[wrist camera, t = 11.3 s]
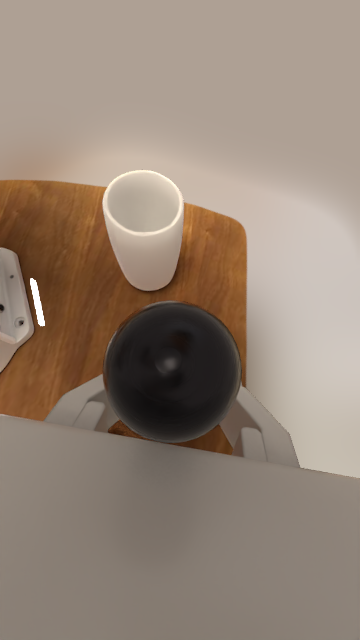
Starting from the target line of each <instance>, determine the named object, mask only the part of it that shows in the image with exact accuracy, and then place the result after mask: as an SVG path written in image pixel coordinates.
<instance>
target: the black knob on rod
mask: <svg viewBox="0 0 360 640" xmlns="http://www.w3.org/2000/svg"><path fill="white" fill-rule="evenodd" d="M241 374H242V367H241V359H240V354H239V350H238V347H237V344H236V342H235V340H234V338H233V336H232V334H231V333H230V331H229V330H228V328H227V327H226V326H225V325H224V323H223V322H222V321H221V320H220V319H218V318H217V317H216V316H215V315H214V314H212V313H211V312H209V311H208V310H206V309H204V308H202V307H200V306H198V305H195V304H192V303H188V302H184V301H161V302H157V303H153V304H150V305H147V306H145V307H142V308H141V309H139V310H137V311H135V312H134V313H133V314H131V315H130V316H129V317H127V318H126V319H125V320H124V321H123V322H122V323H121V324H120V326H119V327H118V328H117V329H116V331H115V332H114V334H113V335H112V337H111V339H110V341H109V343H108V346H107V349H106V351H105V356H104V360H103V383H104V389H105V392H106V396H107V399H108V401H109V403H110V405H111V407H112V409H113V410H114V412H115V414H116V415H117V416H118V417H119V419H120V420H121V421H122V422H123V423H124V424H125V425H126V426H127V427H128V428H130V429H131V430H132V431H134V432H135V433H137V434H139V435H141V436H143V437H145V438H147V439H151V440H154V441H158V442H164V443H178V442H185V441H189V440H192V439H196V438H198V437H200V436H202V435H204V434H206V433H207V432H209V431H211V430H212V429H213V428H215V427H216V426H217V425H218V424H219V423H220V422H221V421H222V420H223V419H224V418H225V417H226V416H227V414H228V413H229V411H230V410H231V408H232V406H233V404H234V402H235V400H236V398H237V395H238V392H239V389H240V384H241Z"/></svg>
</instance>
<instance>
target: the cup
mask: <svg viewBox="0 0 360 640" xmlns="http://www.w3.org/2000/svg"><path fill="white" fill-rule="evenodd" d="M102 202H103V213H104V218H105V223H106V228H107V232H108V235H109V239H110V242H111V245H112V248H113V251H114V253H115V256H116V258H117V261H118V263H119V265H120V267H121V269H122V271H123V273H124V275H125V277H126V279H127V280H128V281H129V283H130V284H131V285H133V286H134V287H136V288H138V289H141V290H145V291H152V290H158V289H160V288H163V287H164V286H166V285H167V284H168V283H169V282H170V281H171V279H172V277H173V275H174V273H175V269H176V266H177V262H178V258H179V253H180V248H181V242H182V232H183V220H184V201H183V195H182V194H181V192H180V190H179V189H178V187H177V186H176V185H175V184H174V183H173V182H172V181H171V180H170V179H168V178H166V177H165V176H163V175H161V174H159V173H156V172H154V171H147V170H138V171H131V172H128V173H124V174H122V175H120V176H118V177H116V178H115V179H114V180H113V181H112V182H111V183H110V184H109V185H108V187H107V189H106V191H105V192H104V196H103V201H102Z"/></svg>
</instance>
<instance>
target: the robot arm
mask: <svg viewBox="0 0 360 640" xmlns="http://www.w3.org/2000/svg"><path fill="white" fill-rule="evenodd" d="M30 282H31V287H32V292H33V297H34V302H35V307H36V312H37V317H38V322H39V325H41V326H44V325H45V324H44V319H43V314H42V309H41V304H40V299H39V294H38V289H37V285H36V281H35V280H34V279H30ZM23 321H24V323H23V325H21V323H22V322H23ZM33 333H34V325H33V321H32V316H31V312H30V308H29V303H28V299H27V295H26V290H25V286H24V282H23V277H22V273H21V268H20V264H19V260H18V256H17V254H16V253H14V252H13V251H11V250H8V249H5V248H0V372H1V371H2V370H3V369H4V368H5V366H6V365H7V364H8V362H9V361H10V359H11V358H12V356H13V354H14V353H15V351H16V350H17V349H18V347H20V346H21V345H22V344H23V343H25V342H26V341H27V340H28V339H29V338H30V337H31V336H32V334H33ZM118 420H119V417H118V416H117V415H116V414H115V412H114V410H113V409H112V407H111V405H110V403H109V401H108V399H107V396H106V392H105V389H104V383H103V374H101V375H99V376H97V377H96V378H94V379H92V380H90V381H88V382H86V383H84V384H82V385H81V386H79V387H77V388H75V389H73V390H71V391H69V392H68V393H66V394H64V395H63V396H62V397H61V398H60V400H59V401H58V402H57V404H56V405H55V406H54V408H53V409H52V410H51V412H50V413H49V414H48V416H47V417H46V418H45V420H44V421H37V420H32V419H26V418H21V417H15V416H10V415H4V414H0V640H360V478H354V477H349V476H343V475H337V474H332V473H327V472H321V471H315V470H309V469H304V468H300V465H299V462H298V459H297V456H296V453H295V450H294V446H293V444H292V440H291V437H290V434H289V433H288V432H287V431H286V430H285V429H284V428H283V427H282V426H281V424H280V423H279V422H278V421H277V420H276V419H275V418H274V417H273V416H272V415H271V414H270V413H269V412H268V411H267V410H266V409H265V407H264V406H263V405H262V404H261V403H260V402H259V401H258V400H257V399H256V398H255V397H254V396H253V395H252V394H251V393H250V392H249V391H248V389H247V388H245V387H242V383H241V384H240V389H239V392H238V395H237V398H236V400H235V402H234V404H233V406H232V408H231V410H230V411H229V413H228V414H227V416H226V417H225V418H224V419H223V420H222V421H221V422H220V423H219V425H220V427H221V428H222V430H223V432H224V434H225V436H226V437H227V439H228V441H229V443H230V444H231V446H232V448H233V453H232V455H227V454H221V453H216V452H210V451H204V450H199V449H193V448H188V447H182V446H177V445H171V444H165V443H160V442H154V441H149V440H143V439H138V438H132V437H127V436H121V435H115V434H110V433H108V429H109V428H110V427H111V426H112V425H113V424H115V423H116V422H117V421H118Z"/></svg>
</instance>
